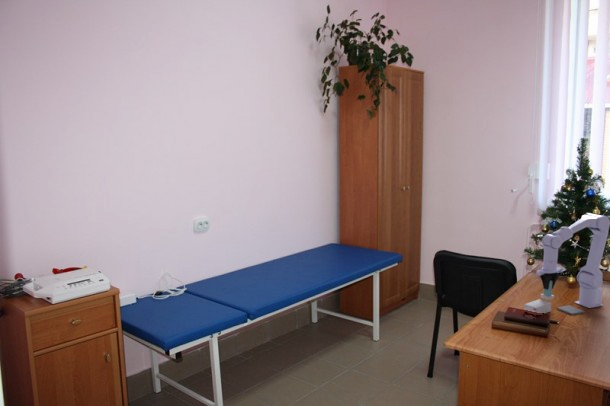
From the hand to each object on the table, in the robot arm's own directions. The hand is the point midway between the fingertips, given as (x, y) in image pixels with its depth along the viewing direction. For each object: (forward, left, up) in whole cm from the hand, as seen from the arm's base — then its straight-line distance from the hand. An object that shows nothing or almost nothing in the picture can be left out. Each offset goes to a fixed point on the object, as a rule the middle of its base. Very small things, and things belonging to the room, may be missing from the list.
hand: (548, 288), depth 217 cm
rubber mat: (-8, +6, -10) cm, 14 cm away
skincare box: (+1, 0, -8) cm, 8 cm away
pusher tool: (0, 0, -5) cm, 5 cm away
